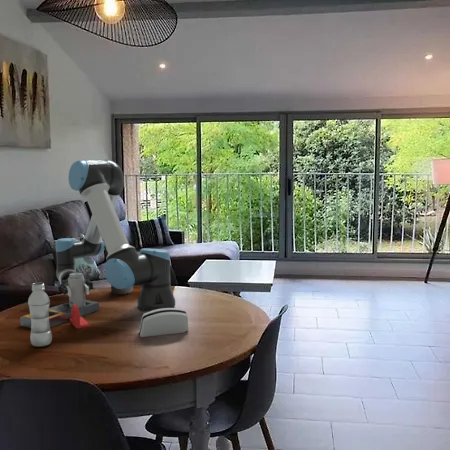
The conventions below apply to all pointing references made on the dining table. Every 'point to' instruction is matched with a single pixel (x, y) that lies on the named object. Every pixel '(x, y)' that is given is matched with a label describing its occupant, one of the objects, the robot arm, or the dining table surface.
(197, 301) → the dining table surface
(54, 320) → the grey compartment tray
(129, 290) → the pillar candle
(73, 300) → the energy drink can
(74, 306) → the bracket
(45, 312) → the plastic bottle
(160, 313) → the white plastic holder
